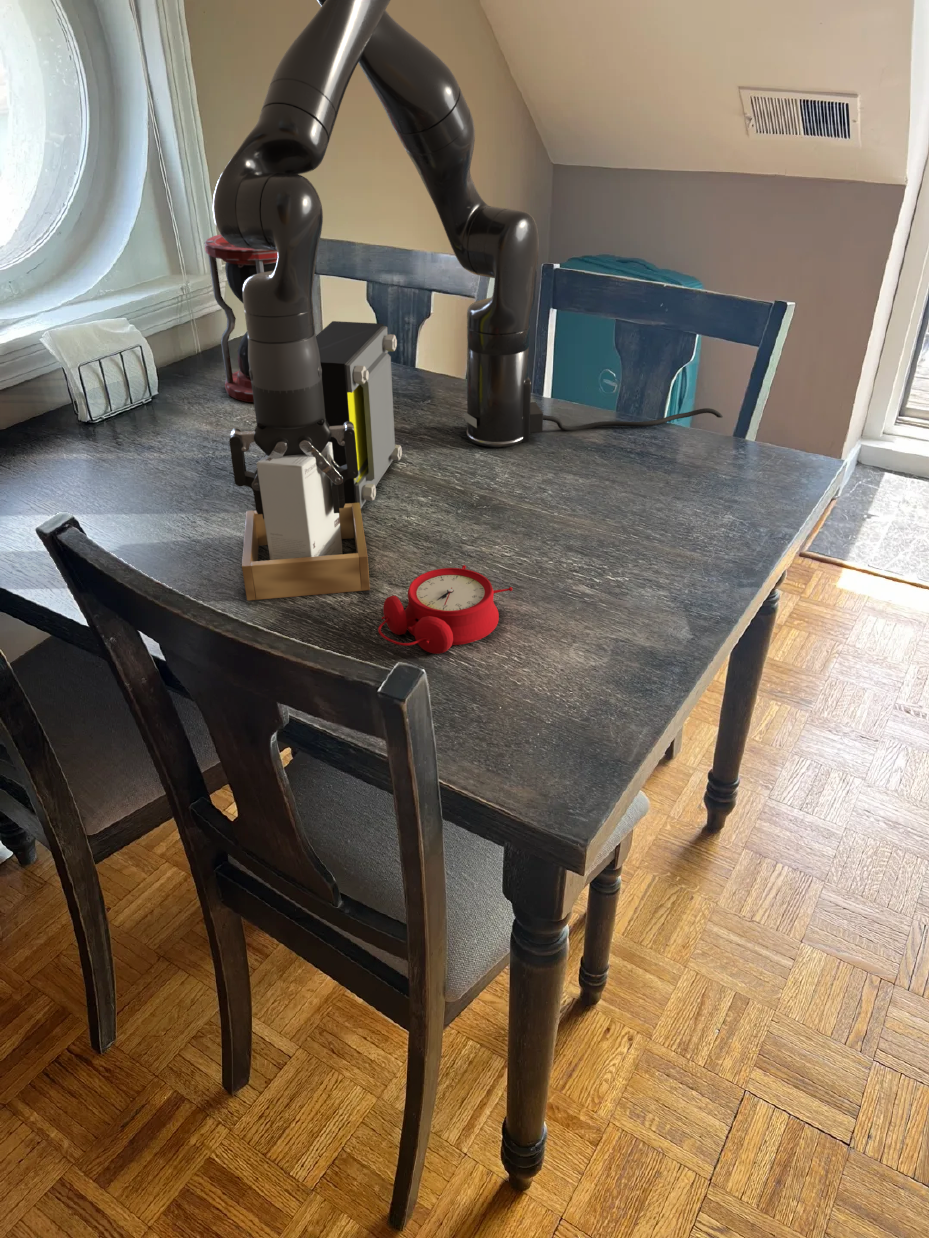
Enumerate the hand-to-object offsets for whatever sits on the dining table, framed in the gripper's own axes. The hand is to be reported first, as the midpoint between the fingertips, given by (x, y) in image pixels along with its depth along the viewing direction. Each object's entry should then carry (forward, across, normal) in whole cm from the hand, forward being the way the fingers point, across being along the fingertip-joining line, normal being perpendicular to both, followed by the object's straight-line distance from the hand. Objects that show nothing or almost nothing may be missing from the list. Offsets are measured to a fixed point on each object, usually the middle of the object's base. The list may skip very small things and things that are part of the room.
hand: (301, 513), depth 110 cm
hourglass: (+7, +5, -65) cm, 66 cm away
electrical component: (+7, -7, -23) cm, 25 cm away
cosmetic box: (+7, 0, 0) cm, 7 cm away
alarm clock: (+7, -14, +16) cm, 23 cm away
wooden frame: (+7, 0, 0) cm, 7 cm away
